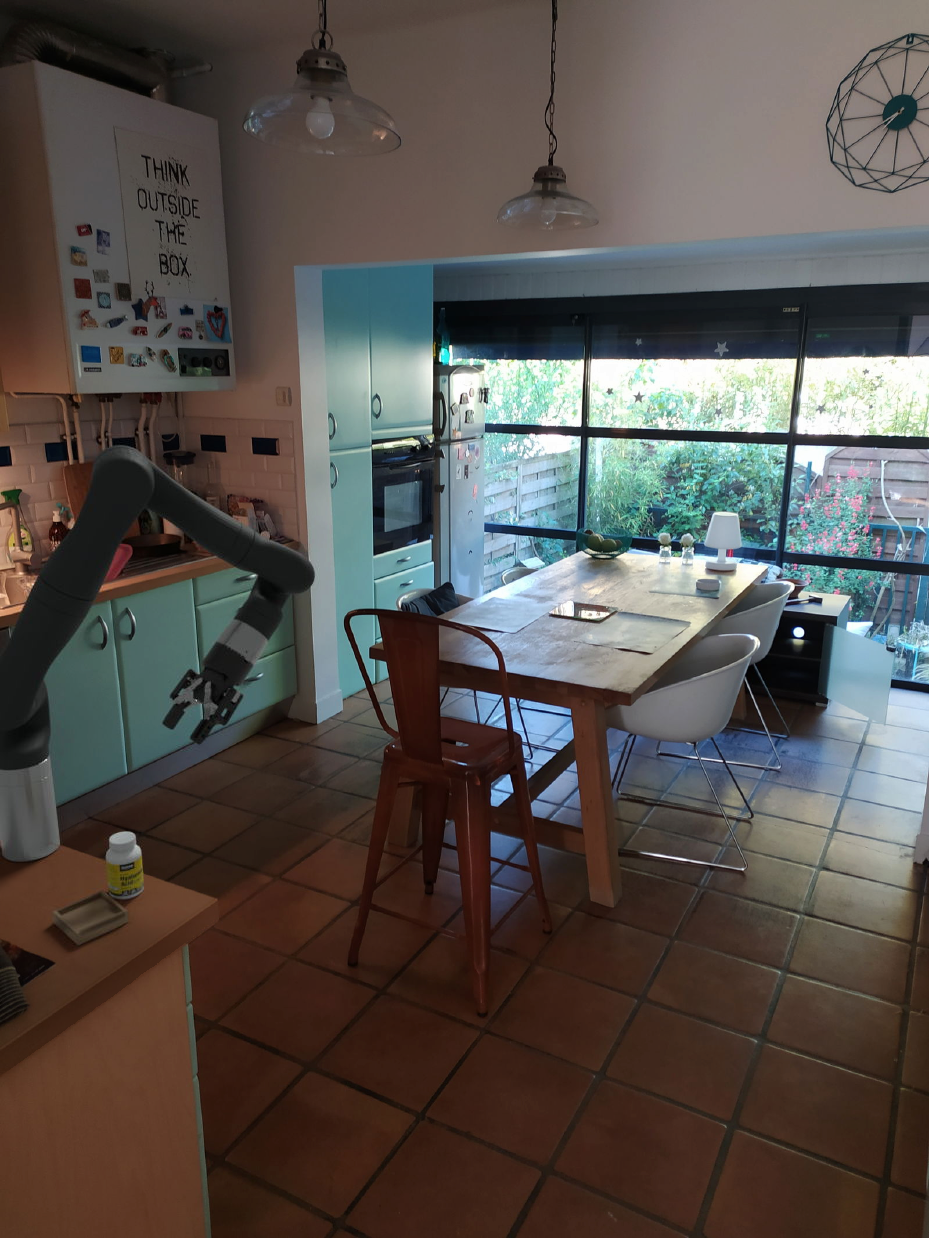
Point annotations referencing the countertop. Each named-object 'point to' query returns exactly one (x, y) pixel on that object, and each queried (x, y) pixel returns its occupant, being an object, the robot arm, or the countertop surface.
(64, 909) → the wooden tray
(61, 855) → the countertop surface
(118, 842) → the supplement bottle
